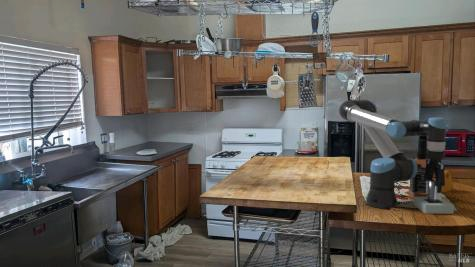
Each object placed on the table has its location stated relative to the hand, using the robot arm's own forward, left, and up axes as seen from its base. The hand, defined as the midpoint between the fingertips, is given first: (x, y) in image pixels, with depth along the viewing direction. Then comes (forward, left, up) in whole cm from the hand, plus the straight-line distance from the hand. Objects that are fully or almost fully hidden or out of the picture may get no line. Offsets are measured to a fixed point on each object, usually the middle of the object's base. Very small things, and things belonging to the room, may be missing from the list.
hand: (433, 196), depth 174 cm
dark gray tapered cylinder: (0, 0, -6) cm, 6 cm away
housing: (0, 0, -7) cm, 7 cm away
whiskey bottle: (+3, +21, -7) cm, 22 cm away
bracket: (+22, +37, -8) cm, 44 cm away
